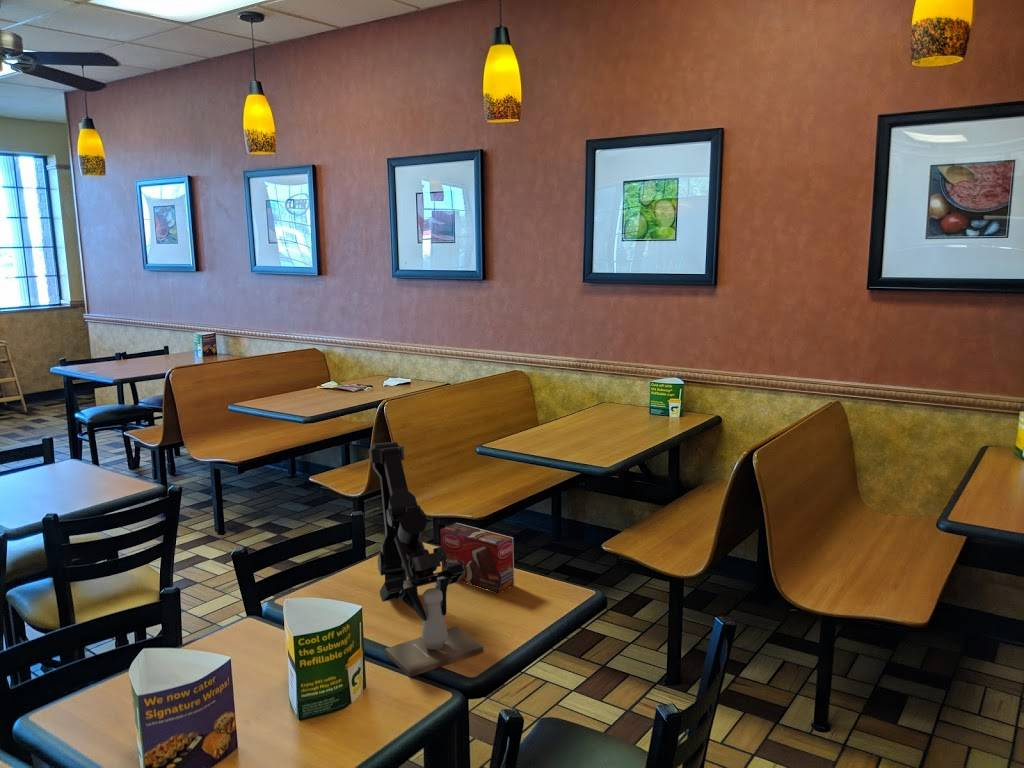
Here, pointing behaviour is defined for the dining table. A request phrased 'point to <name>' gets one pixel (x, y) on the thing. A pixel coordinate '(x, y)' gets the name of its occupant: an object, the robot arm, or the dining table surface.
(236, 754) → the dining table surface
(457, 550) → the ice cream box
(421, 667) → the marked board
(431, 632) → the salt shaker
